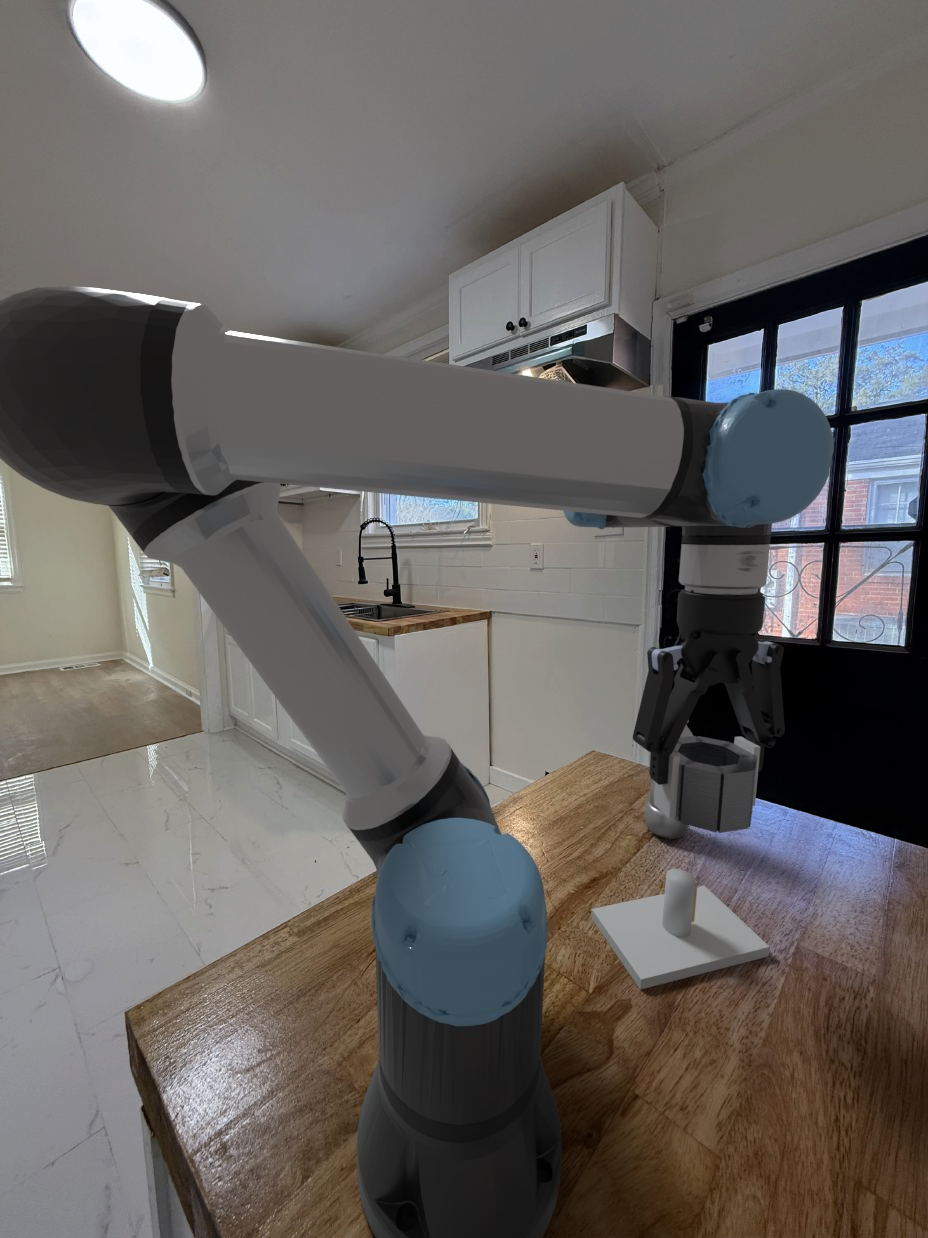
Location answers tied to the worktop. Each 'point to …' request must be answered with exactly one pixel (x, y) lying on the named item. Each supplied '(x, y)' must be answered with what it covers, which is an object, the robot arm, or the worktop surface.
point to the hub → (714, 784)
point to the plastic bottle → (657, 818)
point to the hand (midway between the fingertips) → (703, 804)
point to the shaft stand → (677, 933)
